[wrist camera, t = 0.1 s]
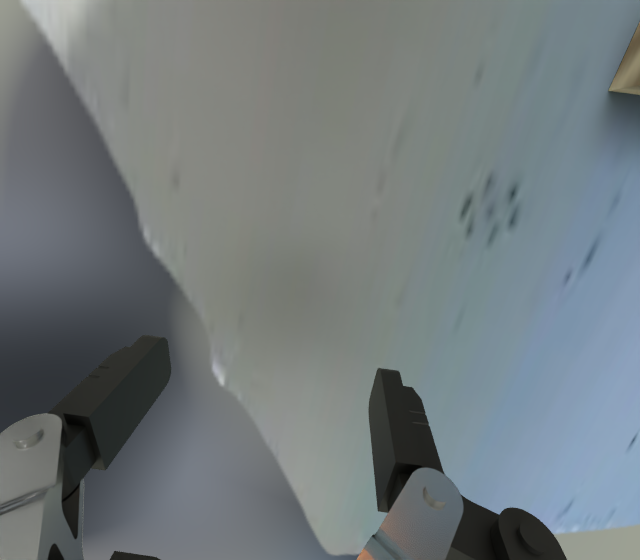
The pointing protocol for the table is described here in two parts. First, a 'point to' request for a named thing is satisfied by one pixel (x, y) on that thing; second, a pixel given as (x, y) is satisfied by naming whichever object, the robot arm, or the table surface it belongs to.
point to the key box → (629, 69)
